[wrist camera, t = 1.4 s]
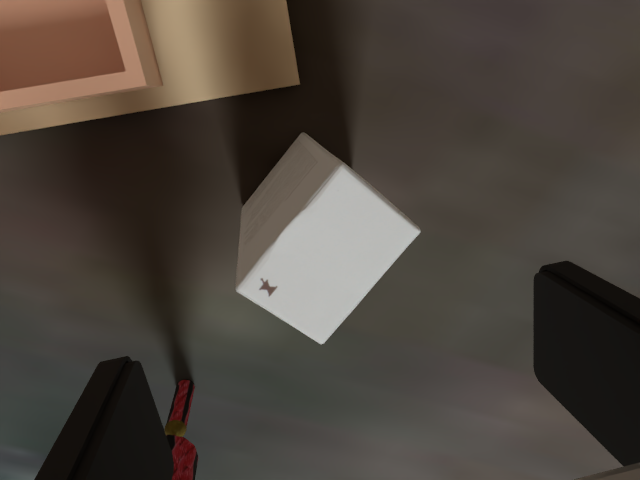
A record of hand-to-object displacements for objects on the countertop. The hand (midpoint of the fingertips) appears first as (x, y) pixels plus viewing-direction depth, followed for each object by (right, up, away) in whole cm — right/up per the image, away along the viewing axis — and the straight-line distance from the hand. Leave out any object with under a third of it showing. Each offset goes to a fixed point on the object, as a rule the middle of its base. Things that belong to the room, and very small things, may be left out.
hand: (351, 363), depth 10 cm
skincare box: (-2, +6, +17) cm, 18 cm away
